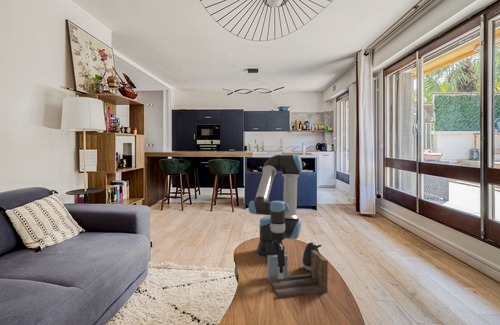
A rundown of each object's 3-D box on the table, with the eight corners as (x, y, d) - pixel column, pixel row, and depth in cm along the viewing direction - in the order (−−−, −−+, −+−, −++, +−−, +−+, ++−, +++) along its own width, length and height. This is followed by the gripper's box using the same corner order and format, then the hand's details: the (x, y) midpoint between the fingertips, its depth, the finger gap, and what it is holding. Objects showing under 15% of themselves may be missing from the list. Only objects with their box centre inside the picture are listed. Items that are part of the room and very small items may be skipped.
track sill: (270, 282, 134) (270, 253, 134) (314, 278, 139) (314, 249, 138) (278, 297, 120) (278, 265, 120) (327, 291, 125) (327, 260, 125)
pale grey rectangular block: (267, 277, 140) (267, 255, 139) (285, 275, 142) (285, 253, 141) (269, 280, 137) (268, 257, 136) (287, 278, 139) (287, 256, 138)
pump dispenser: (321, 274, 143) (322, 246, 143) (302, 272, 145) (302, 245, 145) (320, 266, 153) (320, 240, 153) (302, 264, 155) (302, 239, 155)
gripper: (265, 226, 147) (266, 268, 147) (276, 236, 127) (277, 284, 127) (278, 226, 148) (279, 267, 148) (291, 235, 128) (292, 283, 128)
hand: (278, 275), depth 137 cm, fingers open, 7 cm apart
